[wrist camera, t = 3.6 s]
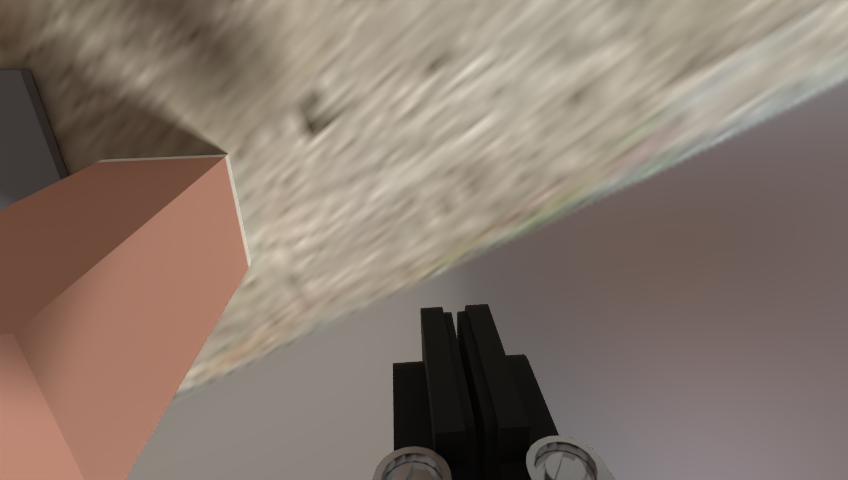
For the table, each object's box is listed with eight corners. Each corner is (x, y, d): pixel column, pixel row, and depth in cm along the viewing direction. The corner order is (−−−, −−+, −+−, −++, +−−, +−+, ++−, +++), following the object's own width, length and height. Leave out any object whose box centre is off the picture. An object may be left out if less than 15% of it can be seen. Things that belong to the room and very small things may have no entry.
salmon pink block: (228, 153, 19) (13, 333, 9) (251, 263, 22) (102, 517, 11) (101, 159, 19) (-281, 349, 8) (137, 268, 21) (-130, 532, 11)
